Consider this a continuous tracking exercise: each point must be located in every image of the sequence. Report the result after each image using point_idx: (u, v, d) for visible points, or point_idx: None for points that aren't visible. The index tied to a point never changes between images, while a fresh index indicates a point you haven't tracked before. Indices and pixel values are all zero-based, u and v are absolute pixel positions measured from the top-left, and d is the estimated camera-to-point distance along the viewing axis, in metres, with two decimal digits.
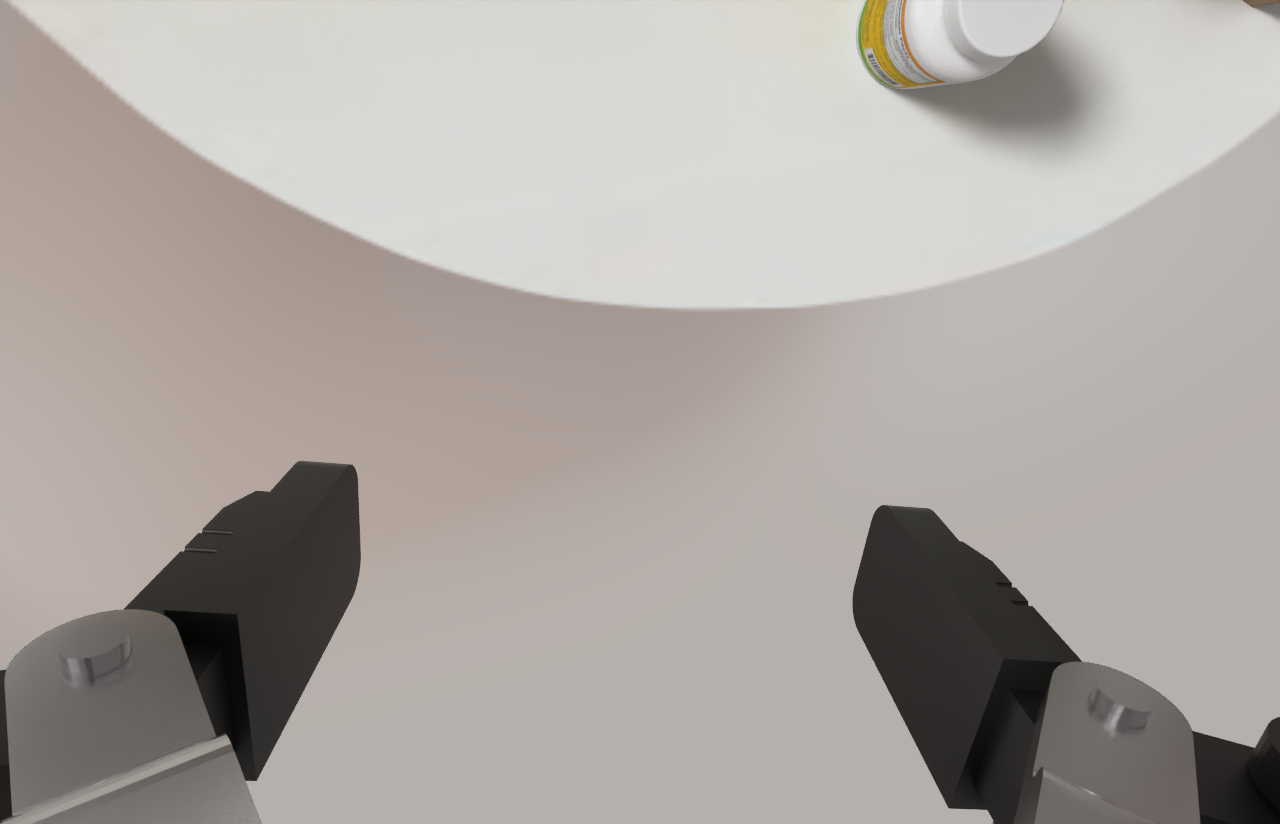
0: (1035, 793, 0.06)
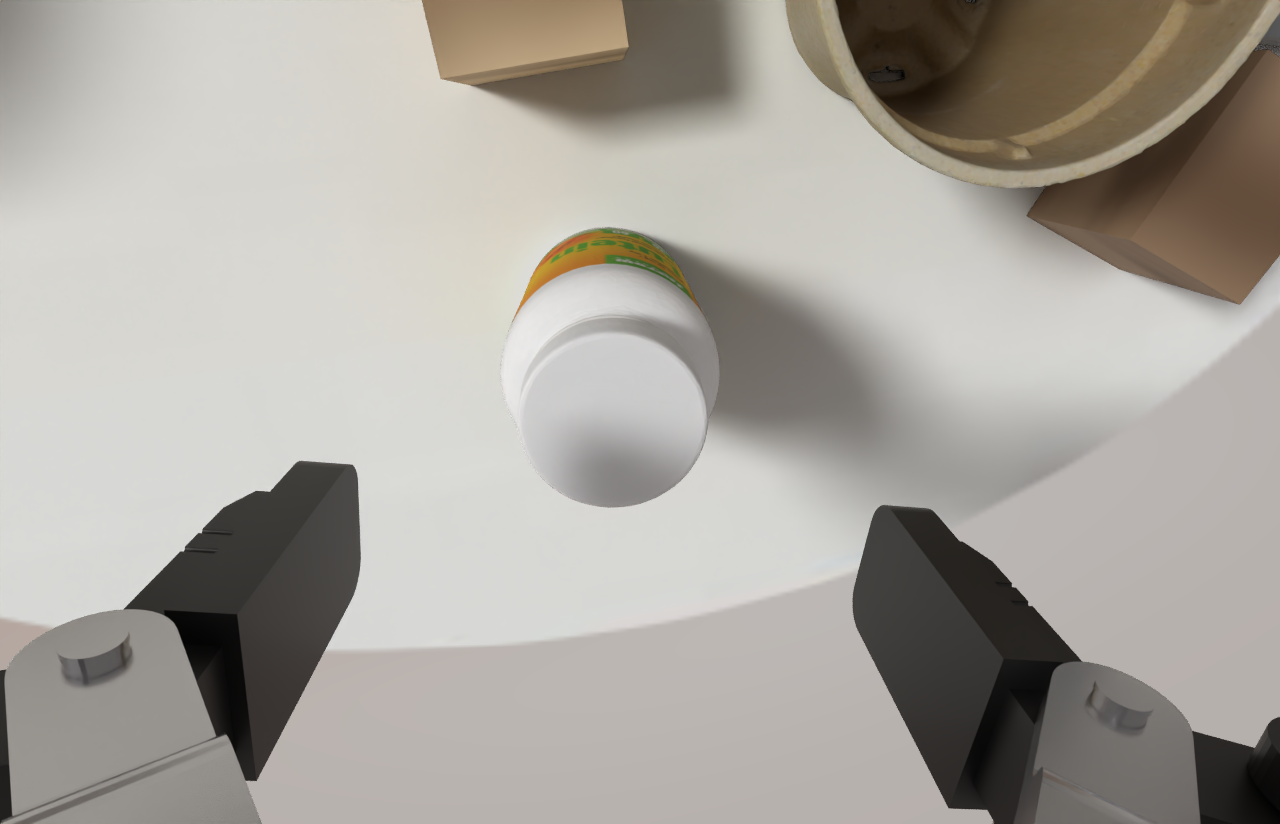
0: (1035, 793, 0.06)
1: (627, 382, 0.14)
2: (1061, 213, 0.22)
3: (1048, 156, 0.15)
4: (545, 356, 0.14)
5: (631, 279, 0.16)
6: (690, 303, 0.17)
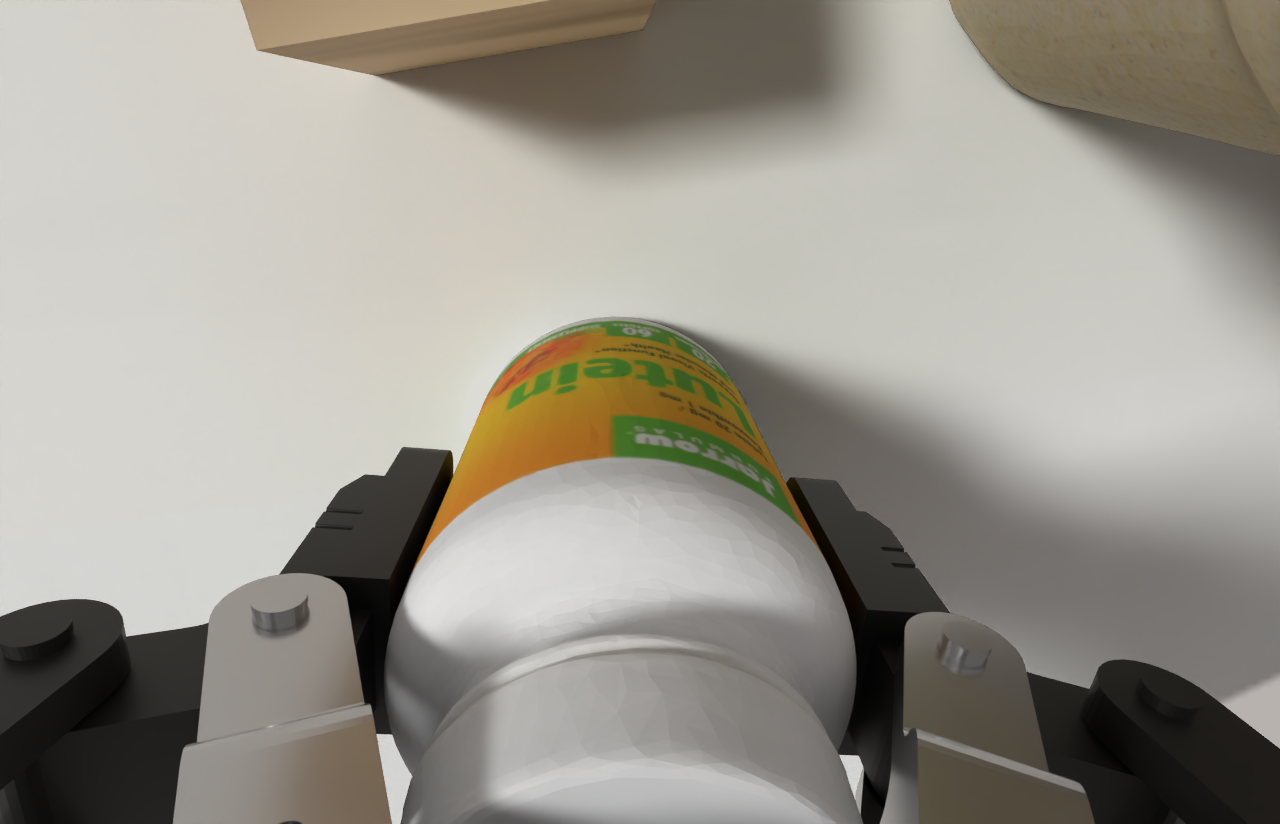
0: (911, 755, 0.06)
1: None
2: None
3: None
4: (446, 809, 0.05)
5: (674, 512, 0.07)
6: (802, 547, 0.08)
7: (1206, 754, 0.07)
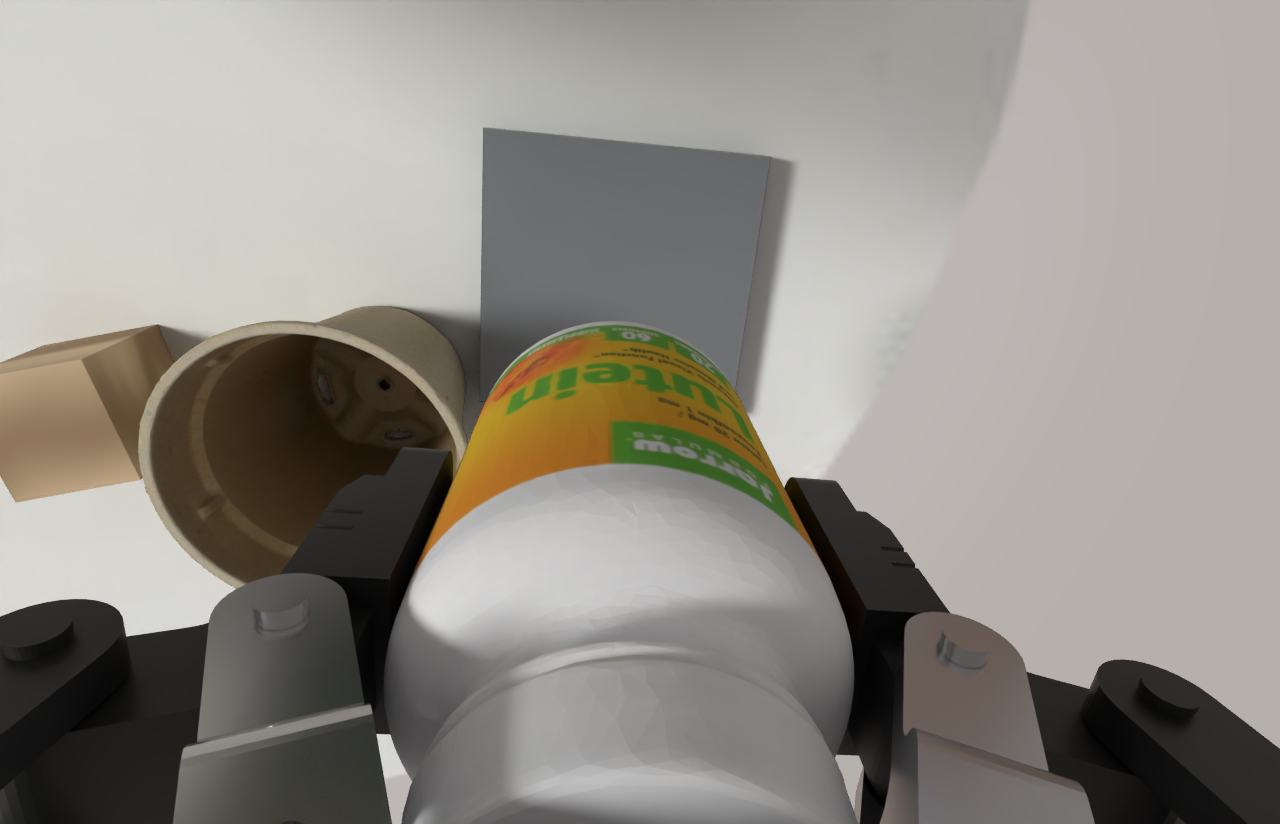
0: (911, 755, 0.06)
1: None
2: None
3: None
4: (445, 817, 0.05)
5: (671, 518, 0.07)
6: (800, 554, 0.08)
7: (1206, 754, 0.07)
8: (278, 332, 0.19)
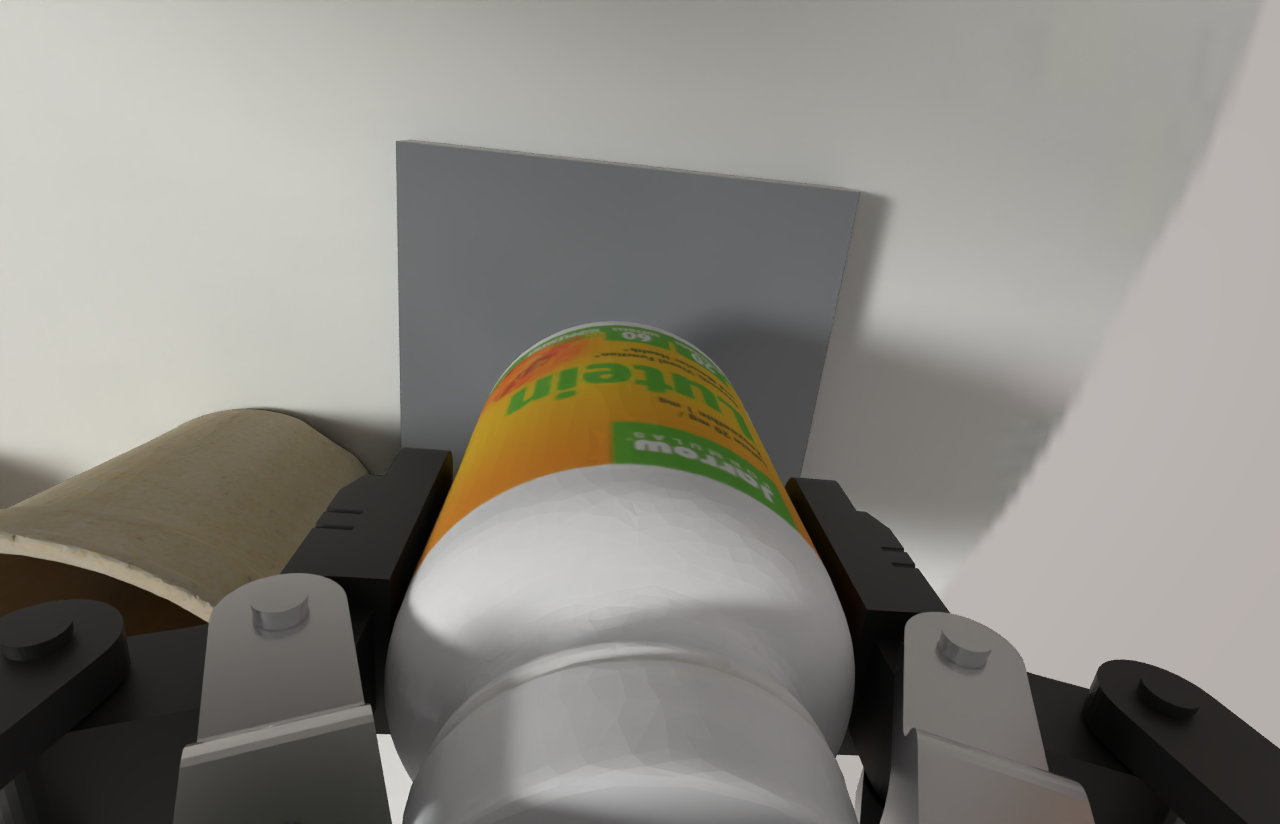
0: (911, 755, 0.06)
1: None
2: None
3: None
4: (446, 817, 0.05)
5: (672, 518, 0.07)
6: (801, 554, 0.08)
7: (1206, 754, 0.07)
8: None
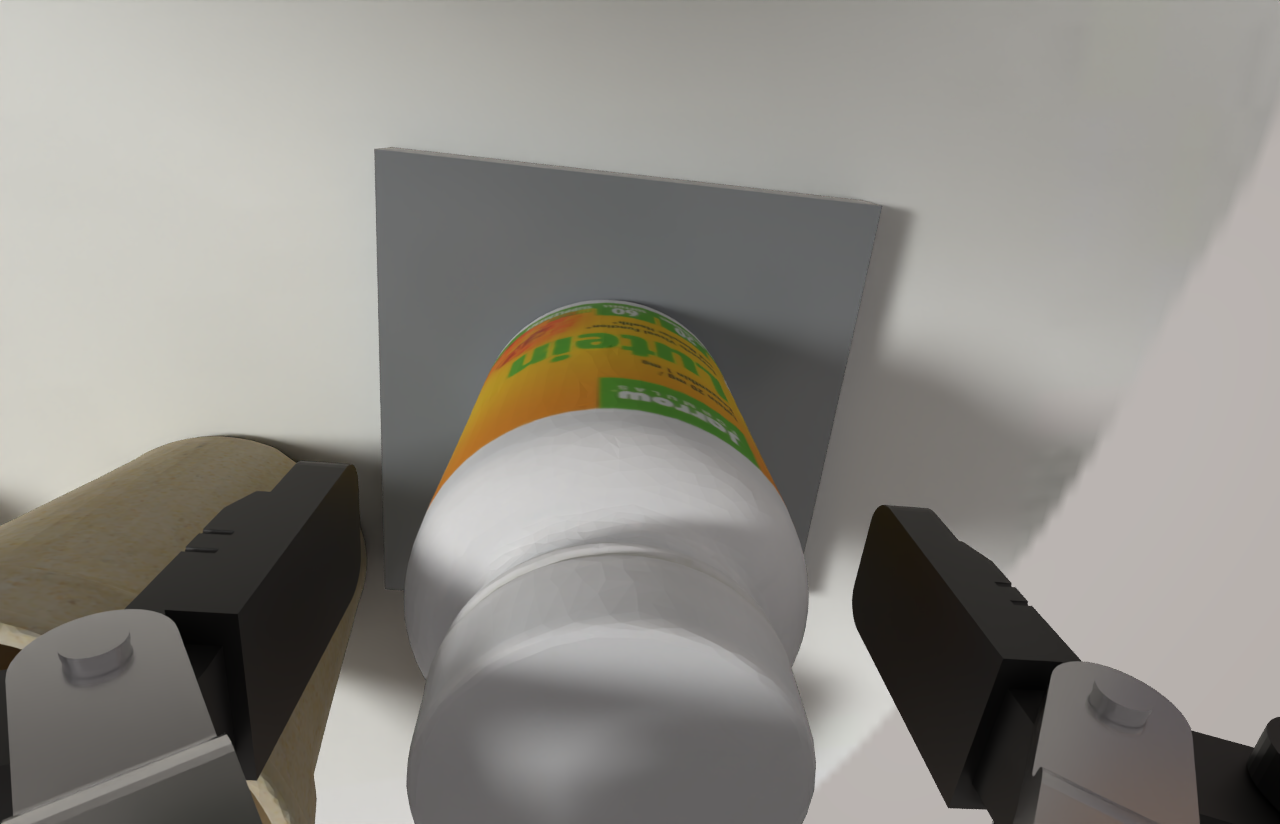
0: (1034, 793, 0.06)
1: (644, 719, 0.07)
2: None
3: None
4: (461, 668, 0.06)
5: (648, 450, 0.08)
6: (759, 484, 0.09)
7: None
8: None
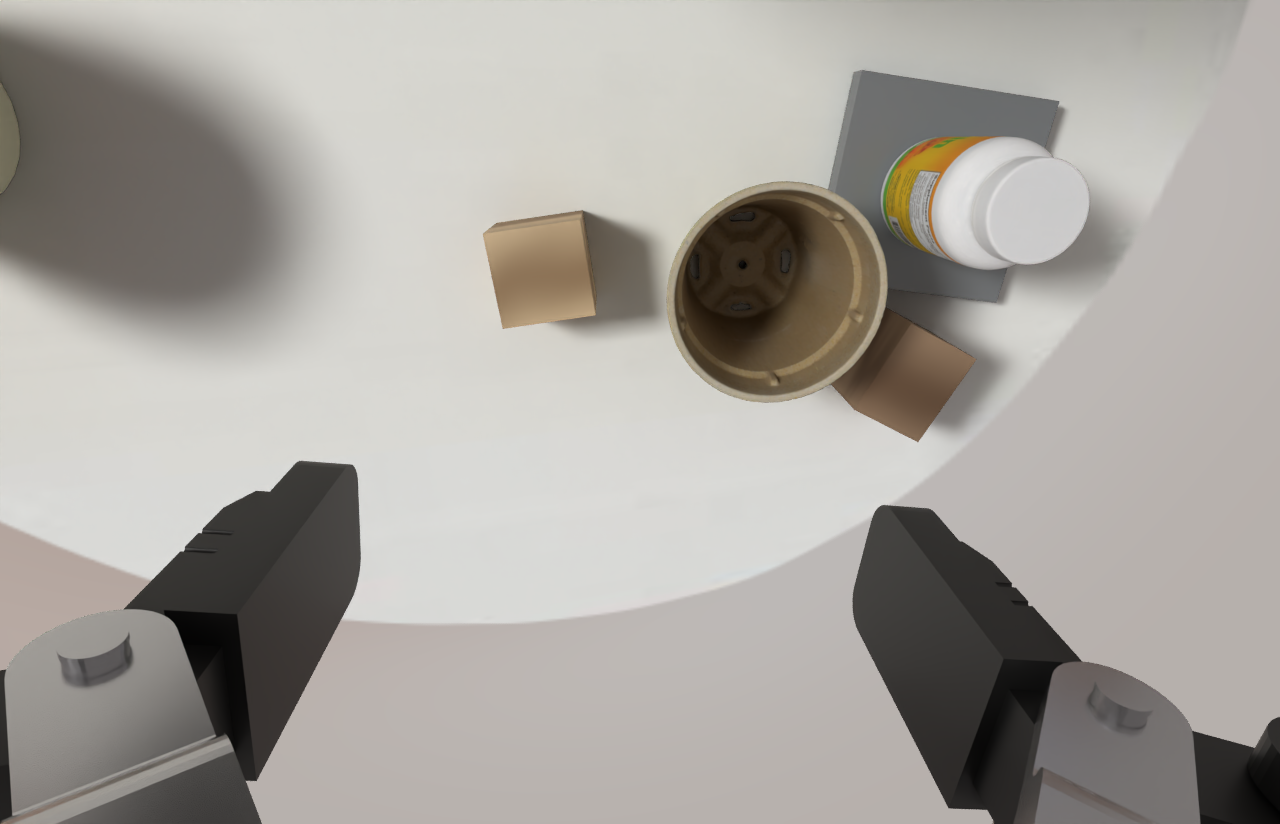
0: (1035, 793, 0.06)
1: (1052, 187, 0.27)
2: (837, 383, 0.39)
3: (785, 385, 0.33)
4: (1010, 171, 0.27)
5: (1029, 142, 0.29)
6: None
7: None
8: (787, 188, 0.29)
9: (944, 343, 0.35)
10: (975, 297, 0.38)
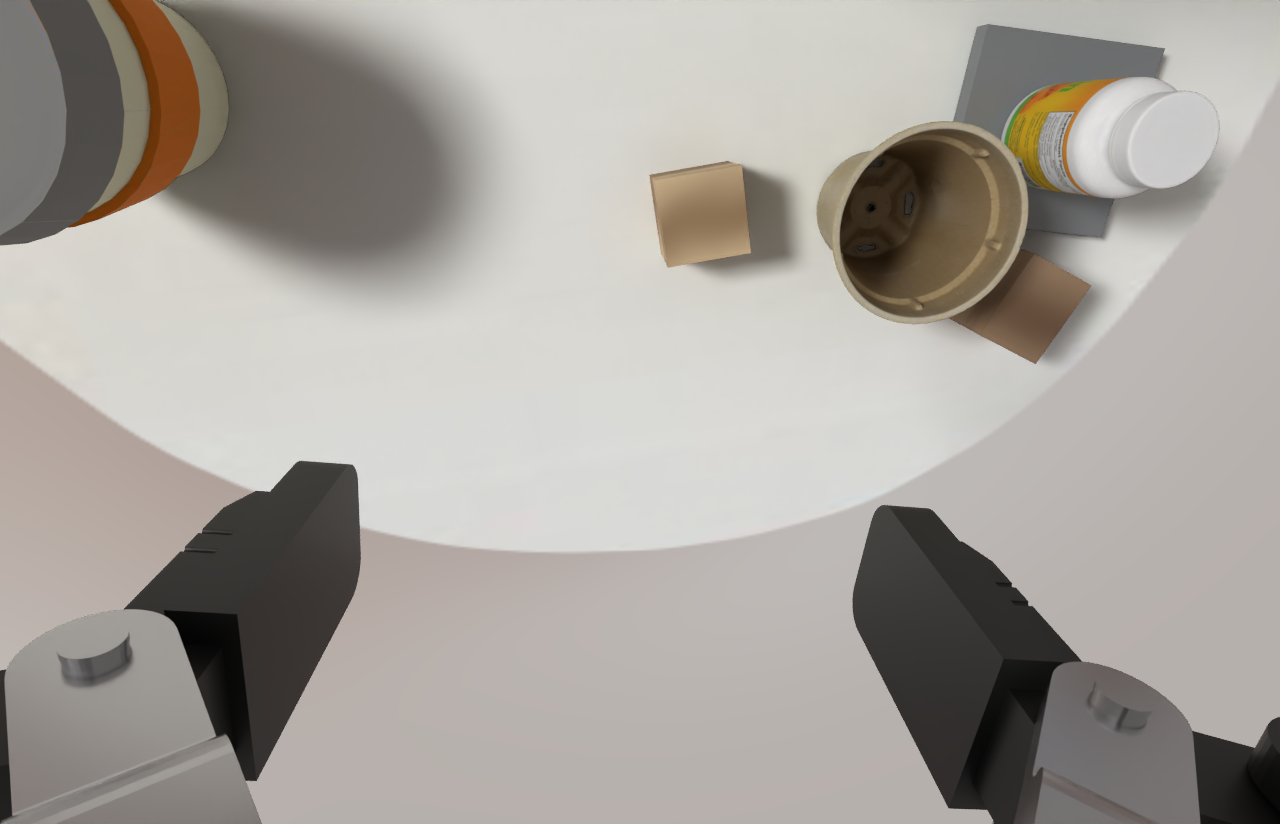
0: (1035, 793, 0.06)
1: (1186, 117, 0.31)
2: (955, 315, 0.43)
3: (929, 309, 0.36)
4: (1150, 104, 0.30)
5: (1159, 81, 0.32)
6: None
7: None
8: (944, 127, 0.33)
9: (1063, 271, 0.39)
10: (1082, 232, 0.42)
